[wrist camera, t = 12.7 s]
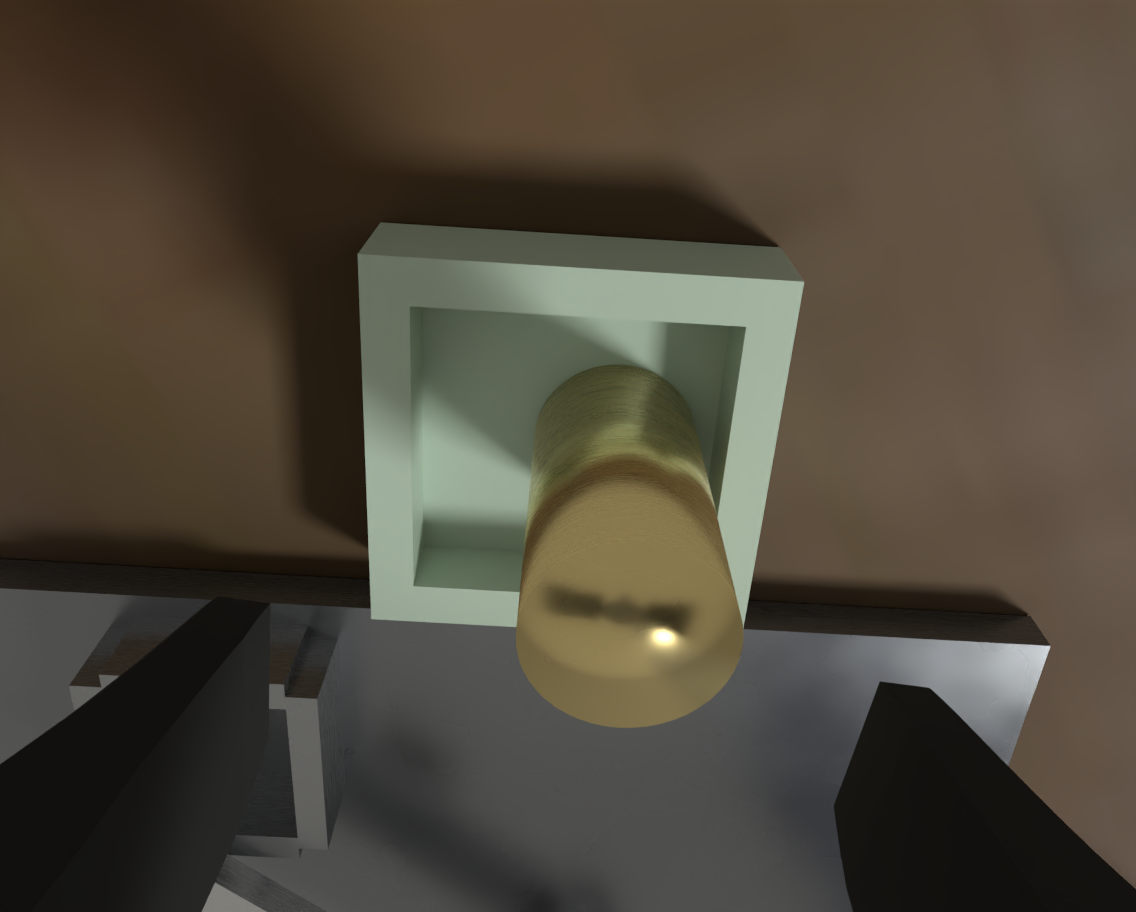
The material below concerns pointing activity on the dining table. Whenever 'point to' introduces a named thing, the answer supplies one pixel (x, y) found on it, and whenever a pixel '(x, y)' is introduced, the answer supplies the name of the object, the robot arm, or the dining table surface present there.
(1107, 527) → the dining table surface
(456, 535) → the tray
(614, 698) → the olive brown rounded cylinder
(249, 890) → the crank
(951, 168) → the dining table surface
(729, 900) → the crank plate
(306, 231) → the dining table surface
